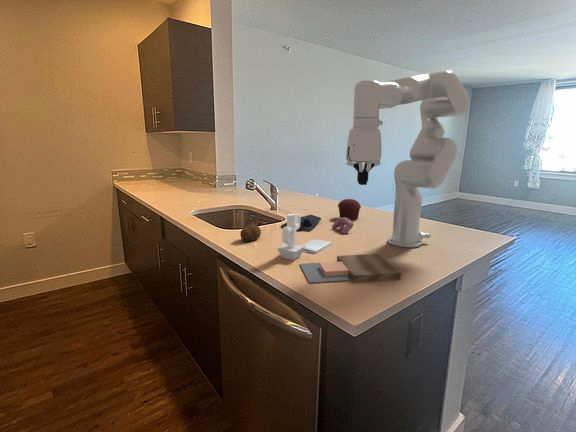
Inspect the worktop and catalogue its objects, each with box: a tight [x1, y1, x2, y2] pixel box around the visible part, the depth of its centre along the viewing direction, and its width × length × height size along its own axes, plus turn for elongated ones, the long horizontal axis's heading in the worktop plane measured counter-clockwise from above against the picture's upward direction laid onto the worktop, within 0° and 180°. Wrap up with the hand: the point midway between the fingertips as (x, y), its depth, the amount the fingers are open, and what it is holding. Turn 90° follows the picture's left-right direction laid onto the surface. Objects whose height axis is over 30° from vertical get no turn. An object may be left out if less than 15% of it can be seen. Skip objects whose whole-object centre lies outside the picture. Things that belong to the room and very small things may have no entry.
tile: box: [319, 261, 349, 277], centre depth 96 cm, size 7×7×2 cm
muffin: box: [337, 198, 362, 222], centre depth 163 cm, size 12×11×10 cm
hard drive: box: [301, 238, 333, 255], centre depth 120 cm, size 2×8×12 cm
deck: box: [336, 253, 402, 283], centre depth 98 cm, size 14×16×2 cm
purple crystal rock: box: [331, 217, 354, 235], centre depth 141 cm, size 10×5×7 cm, turn 22°
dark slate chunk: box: [280, 214, 322, 232], centre depth 151 cm, size 15×22×5 cm
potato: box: [240, 223, 262, 242], centre depth 128 cm, size 7×10×6 cm
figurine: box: [276, 213, 305, 261], centre depth 108 cm, size 7×9×15 cm
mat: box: [299, 261, 352, 284], centre depth 96 cm, size 12×14×1 cm
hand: (362, 184), depth 102 cm, fingers closed
